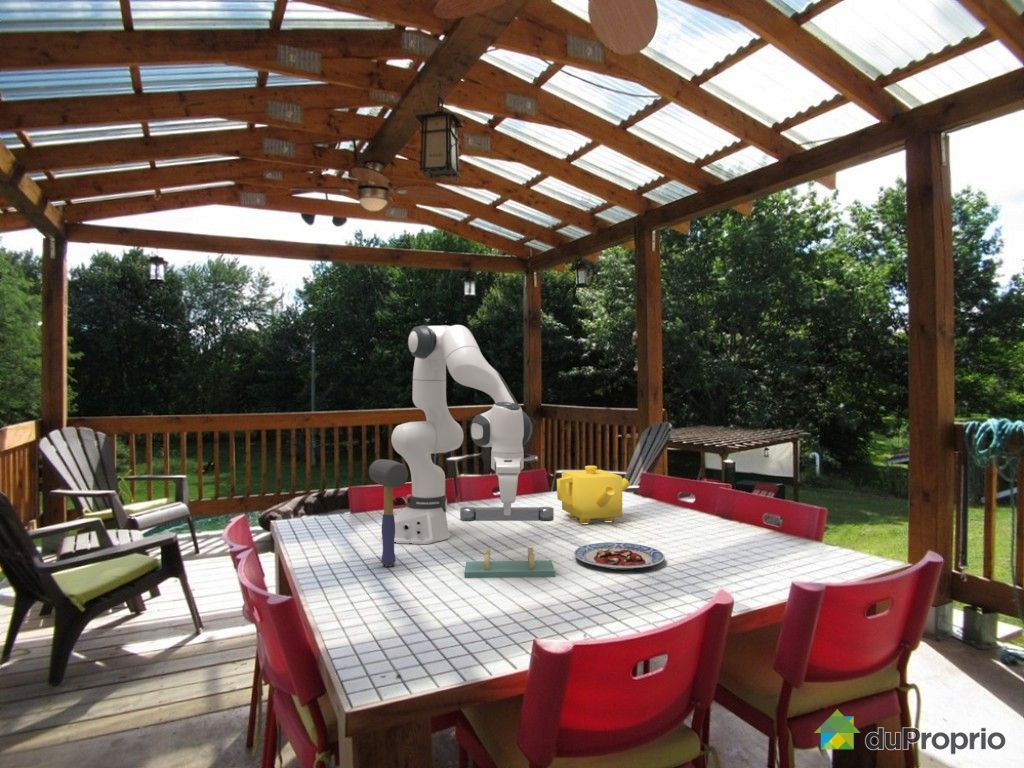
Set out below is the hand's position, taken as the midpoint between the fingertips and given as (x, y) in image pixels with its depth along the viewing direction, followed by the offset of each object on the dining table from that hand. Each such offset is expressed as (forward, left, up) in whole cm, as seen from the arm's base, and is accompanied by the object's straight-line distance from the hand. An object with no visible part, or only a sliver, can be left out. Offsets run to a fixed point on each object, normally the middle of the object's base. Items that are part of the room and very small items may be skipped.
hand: (506, 512), depth 167 cm
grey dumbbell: (0, 0, -2) cm, 2 cm away
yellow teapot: (+35, +65, -16) cm, 75 cm away
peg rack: (+1, +1, -16) cm, 16 cm away
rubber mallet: (-33, +8, -16) cm, 38 cm away
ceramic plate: (+33, +10, -17) cm, 38 cm away
